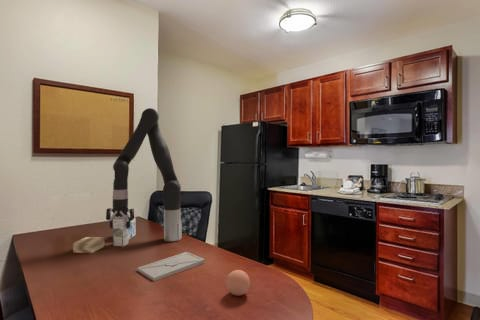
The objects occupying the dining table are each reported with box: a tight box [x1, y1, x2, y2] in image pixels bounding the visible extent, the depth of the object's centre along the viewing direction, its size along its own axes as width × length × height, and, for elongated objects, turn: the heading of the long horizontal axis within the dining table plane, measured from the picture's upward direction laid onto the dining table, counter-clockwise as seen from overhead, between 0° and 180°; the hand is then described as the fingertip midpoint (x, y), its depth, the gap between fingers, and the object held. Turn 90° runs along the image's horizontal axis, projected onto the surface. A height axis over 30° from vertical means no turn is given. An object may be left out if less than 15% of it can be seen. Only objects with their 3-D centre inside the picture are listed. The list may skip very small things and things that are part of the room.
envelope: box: [136, 251, 206, 282], centre depth 115 cm, size 24×2×14 cm
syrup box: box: [112, 217, 129, 247], centre depth 144 cm, size 6×6×14 cm
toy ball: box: [225, 269, 251, 297], centre depth 91 cm, size 8×8×8 cm
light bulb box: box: [128, 216, 137, 241], centre depth 158 cm, size 11×7×11 cm, turn 179°
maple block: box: [72, 236, 105, 254], centre depth 138 cm, size 10×10×5 cm
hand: (120, 228), depth 145 cm, fingers open, 8 cm apart
